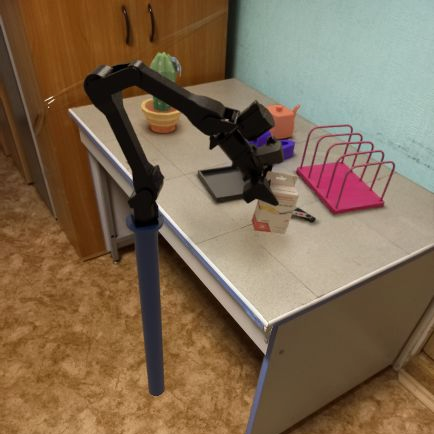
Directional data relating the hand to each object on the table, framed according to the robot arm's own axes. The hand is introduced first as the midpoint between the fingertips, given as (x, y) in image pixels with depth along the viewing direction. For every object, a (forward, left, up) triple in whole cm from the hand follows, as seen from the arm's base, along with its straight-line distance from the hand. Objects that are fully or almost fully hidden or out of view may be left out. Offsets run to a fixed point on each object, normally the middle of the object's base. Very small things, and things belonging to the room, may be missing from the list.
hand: (277, 198), depth 106 cm
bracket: (+20, +40, -12) cm, 46 cm away
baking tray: (+1, +27, -12) cm, 30 cm away
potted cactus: (-9, +71, -12) cm, 72 cm away
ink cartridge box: (-1, 0, -9) cm, 9 cm away
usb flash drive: (+12, +6, -12) cm, 18 cm away
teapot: (+31, +56, -12) cm, 65 cm away
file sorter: (+32, +16, -12) cm, 38 cm away
